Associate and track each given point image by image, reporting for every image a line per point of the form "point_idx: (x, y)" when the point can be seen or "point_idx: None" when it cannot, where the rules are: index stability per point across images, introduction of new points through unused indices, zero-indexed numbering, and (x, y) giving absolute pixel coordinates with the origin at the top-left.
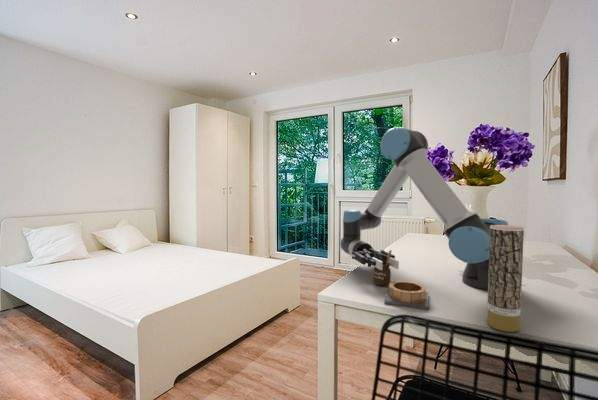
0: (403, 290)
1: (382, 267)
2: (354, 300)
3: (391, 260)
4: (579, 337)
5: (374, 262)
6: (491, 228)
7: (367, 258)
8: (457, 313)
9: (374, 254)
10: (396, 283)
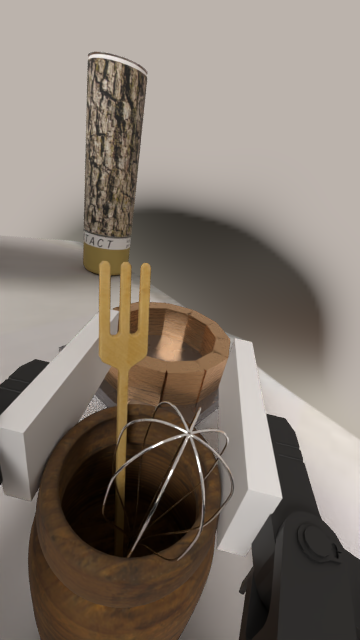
0: (204, 323)
1: (223, 373)
2: (353, 440)
3: (83, 371)
4: (55, 242)
5: (268, 421)
6: (141, 72)
7: (339, 601)
8: (118, 298)
9: (228, 499)
10: (177, 363)
